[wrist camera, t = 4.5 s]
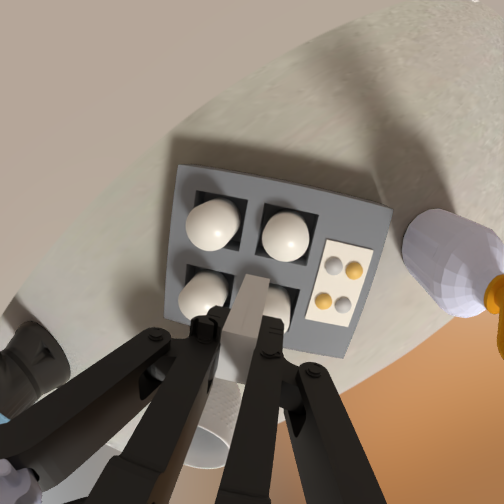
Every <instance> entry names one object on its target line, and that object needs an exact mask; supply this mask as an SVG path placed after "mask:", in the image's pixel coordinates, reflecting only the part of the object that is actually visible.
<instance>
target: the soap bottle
mask: <svg viewBox="0 0 504 504" xmlns="http://www.w3.org/2000/svg"><path fill="white" fill-rule="evenodd" d="M402 255H403V260H404V264H405V266H406V267H407V269H408V271H409V273H410V274H411V275H412V276H413V277H414V278H415V279H416V280H417V281H418V283H419V284H420V285H421V286H422V287H423V288H424V289H425V290H426V292H427V293H428V294H429V295H430V296H431V297H432V298H433V300H434V301H435V302H436V303H437V304H438V305H439V307H440V308H442V309H443V310H444V311H445V312H447V313H448V314H449V315H453V316H457V317H463V318H468V317H472V316H476V315H478V314H480V313H481V312H483V311H484V310H486V309H487V310H488V311H489V312H490V313H492V314H498V313H499V324H498V334H497V347H498V350H499V353H500V355H501V357H502V358H503V359H504V244H503V243H502V241H501V240H500V238H499V237H498V236H497V235H496V234H495V232H494V231H493V230H492V229H490V228H487V227H485V226H483V225H481V224H478V223H476V222H473V221H471V220H469V219H466V218H464V217H461V216H459V215H456V214H454V213H451V212H449V211H446V210H443V209H440V208H439V209H429V210H427V211H425V212H423V213H421V214H419V215H418V216H417V217H416V218H415V219H414V220H413V221H412V222H411V223H410V225H409V226H408V228H407V231H406V233H405V235H404V237H403V245H402Z"/></svg>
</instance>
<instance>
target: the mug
mask: <svg viewBox="0 0 504 504" xmlns="http://www.w3.org/2000/svg"><path fill="white" fill-rule="evenodd" d="M215 374H216V373H215ZM241 401H242V399H241V393H240V389H239V387H238V385H237V383H236V382H232V381H228V380H224V379H220V378H216V377H215V375H214V379H213V385H212V388H211V391H210V394H209V396H208V399H207V402H206V404H205V407H204V410H203V413H202V415H201V418H200V421H199V423H198V426H197V429H196V431H195V434H194V437H193V439H192V442H191V445H190V447H189V450H188V453H187V455H186V458H185V461H184V463H183V464H184V465H187V466H191V467H195V468H202V469H215V468H220V467H223V466H225V464H226V460H227V456H228V452H229V449H230V445H231V441H232V437H233V433H234V429H235V425H236V421H237V417H238V413H239V409H240V405H241Z"/></svg>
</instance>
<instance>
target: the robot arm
mask: <svg viewBox="0 0 504 504" xmlns="http://www.w3.org/2000/svg"><path fill="white" fill-rule="evenodd" d="M269 282H270V279H268V278H263V277H258V276H254V275H249V274H246V275H245V278H244V280H243V282H242V285H241V287H240V289H239V292H238V294H237V296H236V299H235V301H234V303H233V306H232V308H231V309H230V308H226V307H222V306H217V305H215V306H213V307H212V308H210V309H209V311H208V312H207V315H199V316H196V317H193V318H192V319H191V324H190V335H189V337H188V338H186V339H173V338H171V335H170V333H169V332H168V331H166V330H165V329H162V328H155V327H153V328H148V329H146V330H144V331H142V332H141V333H139V334H138V335H136V336H135V337H133V338H132V339H130V340H129V341H127V342H126V343H125V344H123V345H122V346H120V347H119V348H117V349H116V350H114V351H113V352H111V353H110V354H108V355H107V356H105V357H104V358H102V359H101V360H99V361H98V362H96V363H95V364H93V365H92V366H90V367H89V368H88V369H86V370H85V371H83V372H82V373H80V374H79V375H77V376H76V377H74V378H73V379H71V380H70V381H68V380H69V378H70V367H69V363H68V361H67V358H66V356H65V354H64V353H63V351H62V349H61V348H60V346H59V345H58V343H57V342H56V341H55V339H54V338H53V337H52V336H51V335H50V334H49V333H48V332H47V331H46V330H45V329H44V328H43V327H41V326H40V325H38V324H37V323H34V322H31V321H27V322H25V323H24V324H22V325H21V326H19V327H18V329H17V330H16V332H15V335H14V336H13V338H12V339H11V340H10V342H9V343H8V345H7V347H6V348H5V349H4V350H2V351H1V352H0V504H41V503H42V501H41V499H42V492H45V491H47V490H49V489H51V488H53V487H55V486H56V485H58V484H59V483H60V482H62V481H63V480H64V479H66V478H67V477H68V476H69V475H70V474H72V473H73V472H74V471H75V470H76V469H77V468H78V467H80V466H81V465H82V464H83V463H84V462H85V461H86V460H88V459H89V458H90V457H91V456H92V455H93V454H94V453H95V452H97V451H98V450H99V449H100V448H101V447H102V446H103V445H104V444H105V443H107V442H108V441H109V440H110V439H111V438H112V437H113V436H114V435H115V434H116V433H118V432H119V431H120V430H121V429H122V428H123V427H124V426H125V425H126V424H127V423H128V422H129V421H131V420H132V419H133V418H134V417H135V416H136V415H137V414H138V413H139V412H140V411H141V410H142V409H143V408H144V407H145V406H146V405H148V404H149V403H150V402H151V403H150V404H149V406H148V408H147V410H146V411H145V413H144V415H143V417H142V418H141V420H140V422H139V424H138V425H137V427H136V429H135V431H134V432H133V434H132V436H131V438H130V439H129V441H128V443H127V445H126V446H125V448H124V450H123V452H122V453H121V454H120V455H119V456H113V457H112V458H111V459H110V460H109V462H108V463H107V465H106V466H105V468H104V470H103V472H102V473H101V475H100V477H99V478H98V480H97V482H96V483H95V485H94V487H93V489H92V490H91V492H90V494H89V496H88V497H84V498H80V499H77V500H74V501H70V502H67V503H64V504H169V500H170V498H171V495H172V492H173V490H174V487H175V484H176V482H177V479H178V476H179V474H180V471H181V469H182V466H183V463H184V461H185V458H186V455H187V453H188V450H189V447H190V445H191V442H192V439H193V437H194V434H195V431H196V429H197V426H198V423H199V421H200V418H201V415H202V413H203V410H204V407H205V404H206V402H207V399H208V396H209V394H210V391H211V388H212V385H213V379H214V375H215V377H216V378H220V379H224V380H228V381H232V382H237V383H241V384H246V385H245V389H244V393H243V397H242V401H241V405H240V409H239V413H238V417H237V421H236V425H235V429H234V433H233V437H232V441H231V445H230V449H229V452H228V456H227V460H226V464H225V468H224V472H223V475H222V479H221V483H220V486H219V490H218V493H217V497H216V501H215V504H271V499H270V498H269V489H270V482H271V474H272V467H273V459H274V450H275V441H276V433H277V424H278V414H279V407H281V408H284V415H285V419H286V424H287V427H288V432H289V435H290V440H291V444H292V448H293V452H294V456H295V460H296V464H297V468H298V472H299V476H300V479H301V484H302V488H303V492H304V496H305V499H306V503H307V504H387V503H386V500H385V498H384V496H383V493H382V491H381V489H380V486H379V484H378V482H377V479H376V477H375V475H374V472H373V470H372V468H371V466H370V463H369V461H368V459H367V456H366V454H365V452H364V450H363V447H362V445H361V443H360V441H359V439H358V436H357V434H356V432H355V429H354V427H353V425H352V423H351V420H350V418H349V416H348V414H347V412H346V409H345V407H344V405H343V403H342V401H341V398H340V396H339V394H338V392H337V390H336V387H335V385H334V383H333V381H332V379H331V377H330V374H329V372H328V371H327V369H326V368H325V367H323V366H322V365H320V364H318V363H314V362H305V363H303V364H301V365H300V367H299V366H296V365H294V364H292V363H290V362H288V361H287V360H286V359H285V358H284V355H283V352H282V349H283V337H284V336H283V335H284V323H283V321H282V320H281V319H280V318H275V317H270V316H265V315H263V311H264V306H265V301H266V297H267V292H268V287H269ZM215 373H216V374H215ZM67 381H68V382H67ZM66 382H67V383H66ZM55 388H58V389H56V390H55V391H53V392H52V393H50V394H49V395H47V396H46V397H44V398H43V399H41V400H40V401H38V402H37V403H35V402H36V401H37V400H38V399H39V398H40V397H41V396H42V395H43V394H45V393H47V392H49V391H51V390H53V389H55ZM34 403H35V404H34ZM33 404H34V405H33Z"/></svg>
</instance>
